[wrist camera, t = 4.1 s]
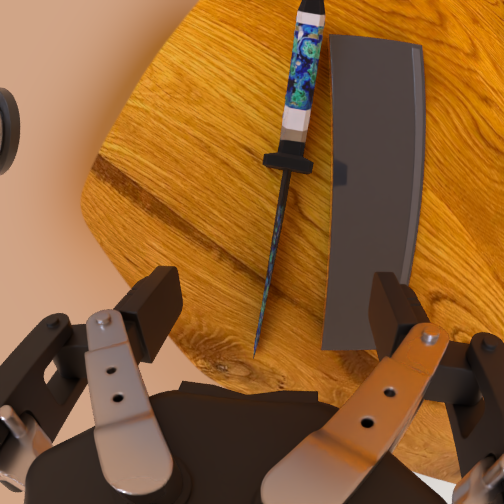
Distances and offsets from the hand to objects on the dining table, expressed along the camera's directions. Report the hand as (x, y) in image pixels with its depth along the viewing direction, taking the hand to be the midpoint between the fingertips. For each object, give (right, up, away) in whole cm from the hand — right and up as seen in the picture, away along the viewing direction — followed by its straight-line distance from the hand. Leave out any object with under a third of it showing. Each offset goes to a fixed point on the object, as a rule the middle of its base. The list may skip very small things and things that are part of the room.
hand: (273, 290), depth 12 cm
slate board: (+9, +5, +11) cm, 14 cm away
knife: (+1, +5, +12) cm, 13 cm away
